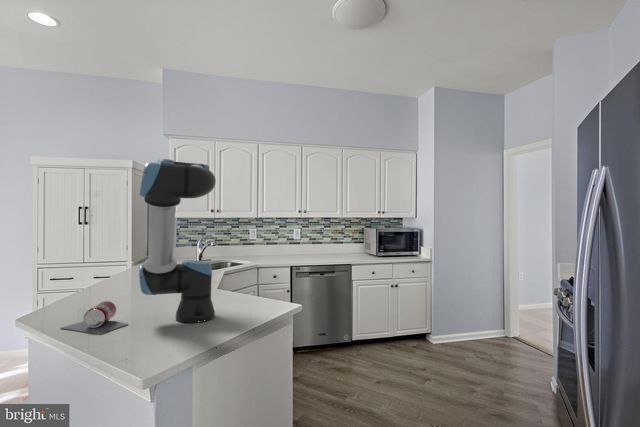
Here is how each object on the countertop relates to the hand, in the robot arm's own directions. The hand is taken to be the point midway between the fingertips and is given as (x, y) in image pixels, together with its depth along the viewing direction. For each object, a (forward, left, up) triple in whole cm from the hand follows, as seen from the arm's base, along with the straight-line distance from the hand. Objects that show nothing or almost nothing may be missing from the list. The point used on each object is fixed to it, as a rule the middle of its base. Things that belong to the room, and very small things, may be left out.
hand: (163, 242), depth 159 cm
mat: (-2, +35, -29) cm, 46 cm away
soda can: (+2, +27, -25) cm, 37 cm away
